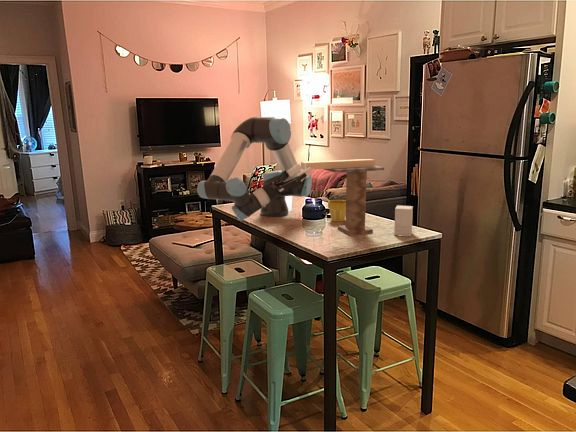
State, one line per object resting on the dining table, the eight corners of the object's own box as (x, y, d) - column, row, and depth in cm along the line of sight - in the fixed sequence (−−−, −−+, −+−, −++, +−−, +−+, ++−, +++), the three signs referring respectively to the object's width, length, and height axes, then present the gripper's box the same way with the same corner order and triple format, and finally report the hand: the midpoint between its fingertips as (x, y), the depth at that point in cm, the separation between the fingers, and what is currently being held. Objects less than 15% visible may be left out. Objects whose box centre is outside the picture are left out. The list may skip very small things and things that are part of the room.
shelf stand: (333, 237, 214) (334, 169, 207) (321, 230, 226) (322, 166, 220) (381, 232, 221) (384, 167, 215) (366, 225, 234) (368, 164, 228)
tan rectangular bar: (304, 170, 207) (304, 162, 207) (300, 168, 212) (300, 161, 211) (374, 166, 218) (375, 159, 218) (369, 165, 223) (370, 158, 222)
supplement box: (412, 233, 221) (413, 205, 218) (410, 237, 214) (412, 209, 211) (395, 231, 223) (396, 205, 220) (393, 235, 216) (394, 208, 213)
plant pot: (324, 221, 244) (325, 202, 241) (331, 217, 253) (332, 199, 251) (344, 223, 239) (344, 204, 237) (350, 219, 248) (351, 200, 246)
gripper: (261, 196, 219) (299, 171, 222) (278, 207, 196) (320, 179, 199) (253, 183, 216) (292, 157, 220) (269, 192, 193) (312, 163, 197)
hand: (305, 167), depth 209 cm, fingers open, 13 cm apart
